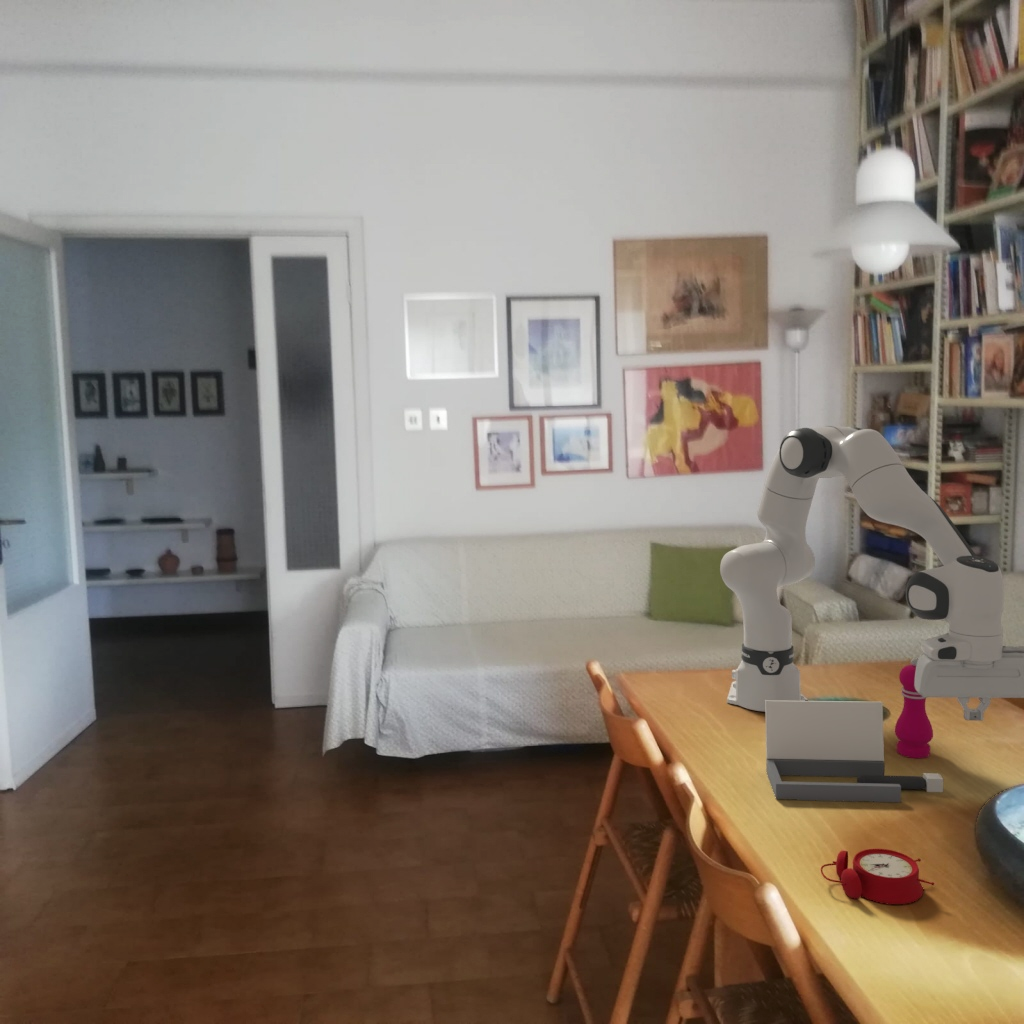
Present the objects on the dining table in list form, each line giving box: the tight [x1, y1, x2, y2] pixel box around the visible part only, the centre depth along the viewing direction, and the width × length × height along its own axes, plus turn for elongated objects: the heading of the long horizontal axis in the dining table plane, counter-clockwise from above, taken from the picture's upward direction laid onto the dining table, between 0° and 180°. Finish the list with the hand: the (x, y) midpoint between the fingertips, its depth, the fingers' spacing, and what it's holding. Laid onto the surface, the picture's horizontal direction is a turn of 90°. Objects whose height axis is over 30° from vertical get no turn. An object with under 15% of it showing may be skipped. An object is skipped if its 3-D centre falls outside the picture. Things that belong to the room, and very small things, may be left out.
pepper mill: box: [894, 657, 934, 759], centre depth 193 cm, size 7×7×20 cm
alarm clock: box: [820, 848, 935, 905], centre depth 144 cm, size 10×6×15 cm
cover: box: [764, 700, 885, 762], centre depth 185 cm, size 11×22×1 cm
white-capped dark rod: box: [856, 772, 944, 793], centre depth 178 cm, size 15×3×3 cm, turn 83°
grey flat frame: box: [765, 758, 902, 803], centre depth 179 cm, size 12×22×3 cm, turn 83°
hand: (973, 719), depth 175 cm, fingers closed
